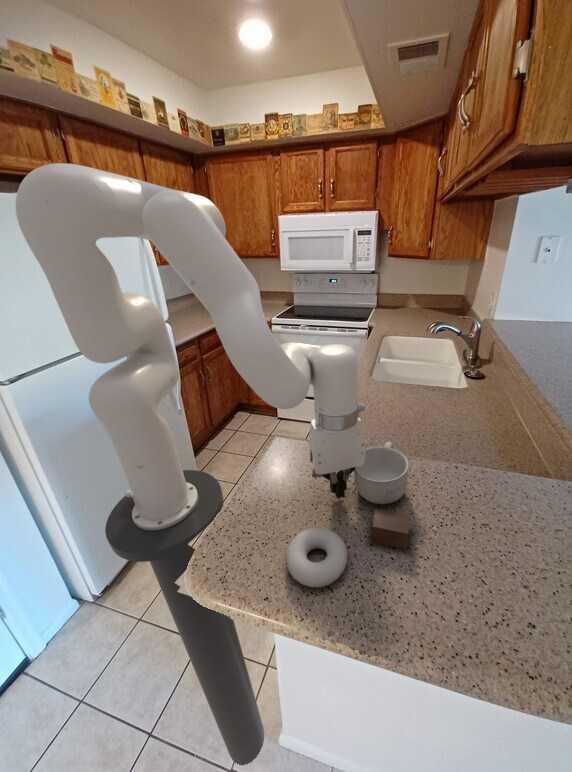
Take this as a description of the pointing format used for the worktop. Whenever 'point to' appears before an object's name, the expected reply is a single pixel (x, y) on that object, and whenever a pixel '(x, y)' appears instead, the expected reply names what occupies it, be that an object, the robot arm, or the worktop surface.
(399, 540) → the block
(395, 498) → the teacup
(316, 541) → the donut
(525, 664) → the worktop surface
